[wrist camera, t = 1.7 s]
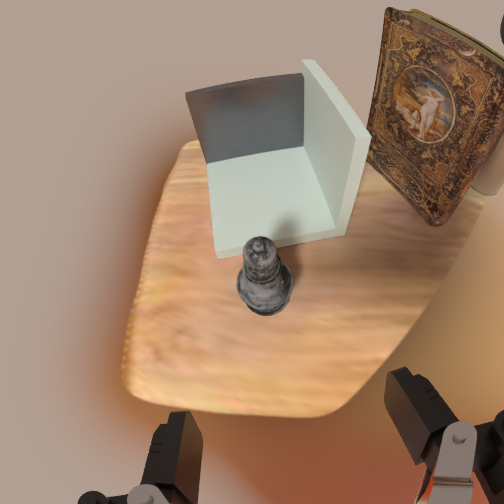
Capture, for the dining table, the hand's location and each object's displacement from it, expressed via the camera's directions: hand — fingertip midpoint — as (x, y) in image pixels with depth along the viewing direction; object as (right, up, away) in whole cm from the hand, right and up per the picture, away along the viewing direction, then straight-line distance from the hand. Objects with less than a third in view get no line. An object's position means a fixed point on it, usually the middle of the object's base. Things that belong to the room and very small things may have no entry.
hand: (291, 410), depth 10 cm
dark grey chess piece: (0, +1, +23) cm, 23 cm away
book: (+22, +16, +28) cm, 39 cm away
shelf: (+1, +14, +29) cm, 32 cm away
